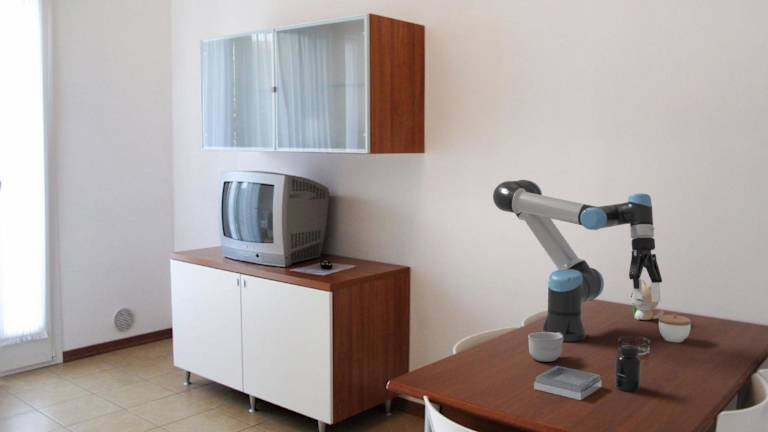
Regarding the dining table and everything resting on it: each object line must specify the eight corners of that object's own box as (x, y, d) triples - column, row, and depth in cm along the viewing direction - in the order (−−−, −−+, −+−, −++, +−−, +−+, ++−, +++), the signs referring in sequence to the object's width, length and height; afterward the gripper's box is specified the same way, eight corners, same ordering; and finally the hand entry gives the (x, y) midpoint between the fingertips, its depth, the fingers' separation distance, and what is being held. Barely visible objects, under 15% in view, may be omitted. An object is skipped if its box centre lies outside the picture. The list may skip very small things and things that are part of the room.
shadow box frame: (534, 388, 206) (534, 376, 205) (556, 376, 217) (556, 365, 216) (580, 400, 197) (581, 387, 197) (601, 386, 208) (601, 375, 207)
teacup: (542, 366, 226) (543, 341, 226) (520, 356, 236) (521, 332, 235) (576, 360, 233) (577, 335, 232) (553, 351, 242) (554, 328, 242)
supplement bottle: (613, 390, 205) (615, 348, 204) (615, 382, 212) (617, 342, 210) (639, 393, 203) (641, 351, 201) (640, 385, 209) (642, 345, 208)
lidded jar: (687, 346, 250) (688, 319, 249) (654, 341, 256) (655, 315, 255) (692, 338, 259) (693, 313, 258) (661, 334, 265) (662, 309, 264)
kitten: (622, 314, 294) (624, 278, 292) (646, 314, 295) (648, 277, 293) (639, 324, 279) (641, 285, 277) (664, 323, 280) (666, 285, 278)
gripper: (636, 232, 239) (641, 296, 234) (668, 241, 256) (673, 302, 252) (615, 235, 244) (619, 298, 239) (648, 244, 261) (652, 303, 257)
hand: (647, 300), depth 246 cm, fingers open, 13 cm apart
